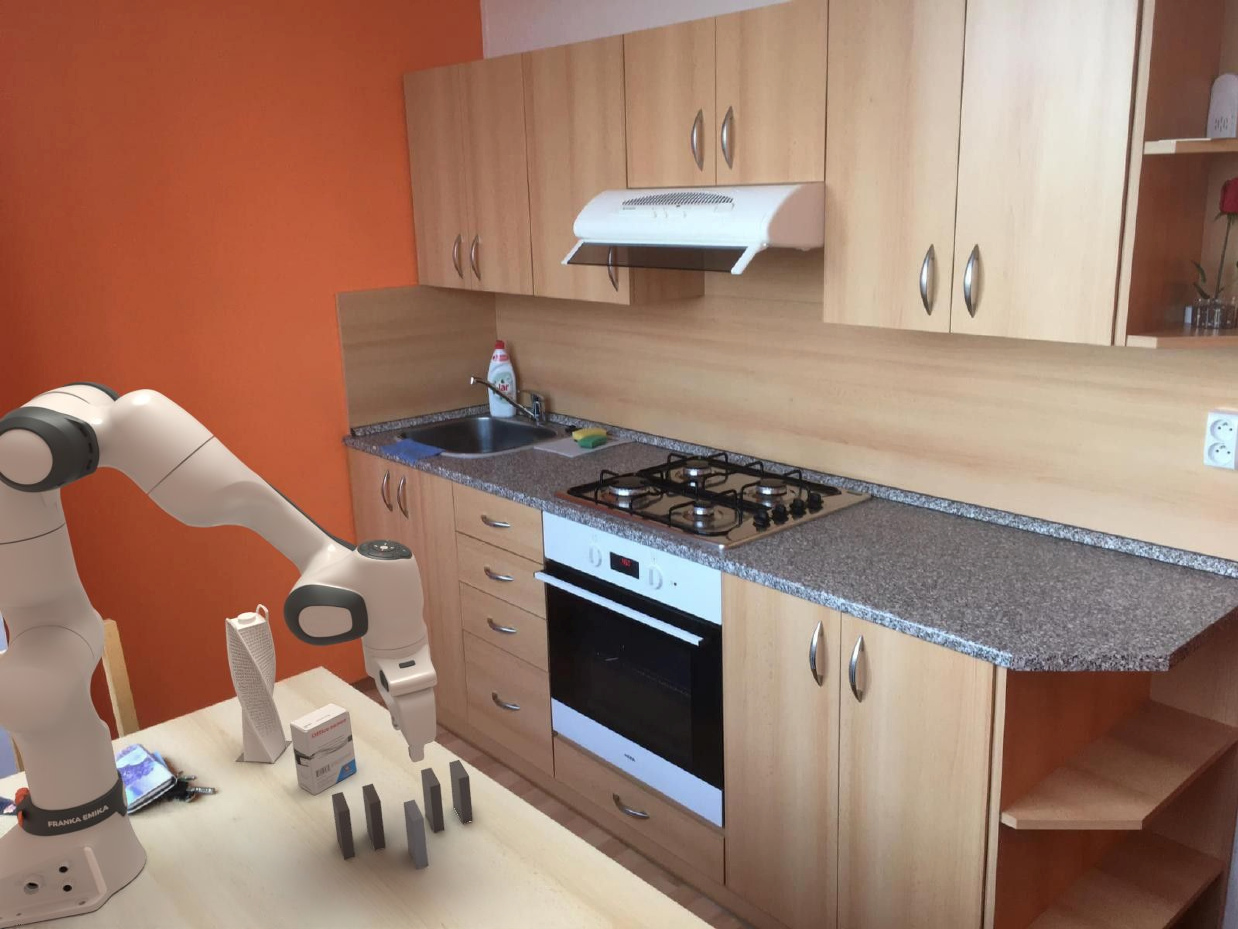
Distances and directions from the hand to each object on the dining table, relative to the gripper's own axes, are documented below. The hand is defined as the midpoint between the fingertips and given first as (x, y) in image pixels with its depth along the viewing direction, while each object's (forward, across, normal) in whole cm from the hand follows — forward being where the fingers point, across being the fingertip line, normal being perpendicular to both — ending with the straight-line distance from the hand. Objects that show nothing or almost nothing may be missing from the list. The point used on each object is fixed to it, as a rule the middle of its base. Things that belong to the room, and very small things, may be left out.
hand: (408, 742), depth 146 cm
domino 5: (+19, -6, +8) cm, 22 cm away
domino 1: (+18, -7, -10) cm, 22 cm away
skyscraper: (+19, -40, -16) cm, 47 cm away
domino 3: (+19, 0, -1) cm, 19 cm away
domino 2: (+18, -6, -5) cm, 20 cm away
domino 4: (+19, -6, +4) cm, 20 cm away
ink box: (+19, -27, -9) cm, 34 cm away
